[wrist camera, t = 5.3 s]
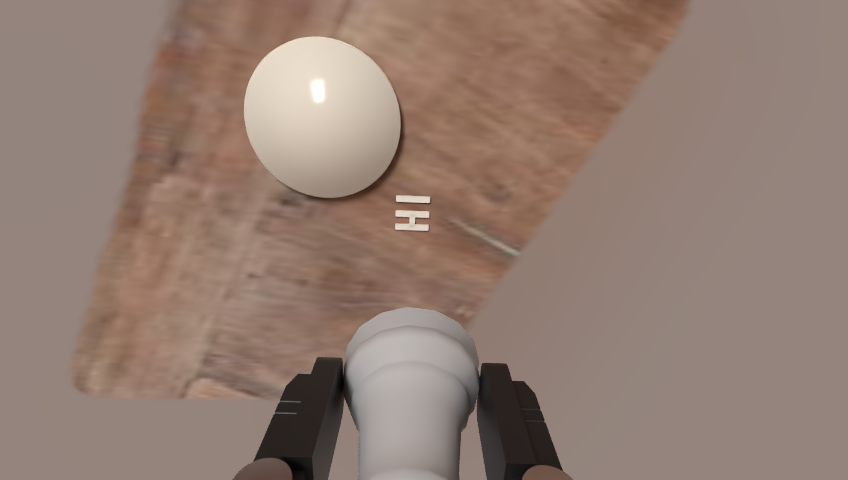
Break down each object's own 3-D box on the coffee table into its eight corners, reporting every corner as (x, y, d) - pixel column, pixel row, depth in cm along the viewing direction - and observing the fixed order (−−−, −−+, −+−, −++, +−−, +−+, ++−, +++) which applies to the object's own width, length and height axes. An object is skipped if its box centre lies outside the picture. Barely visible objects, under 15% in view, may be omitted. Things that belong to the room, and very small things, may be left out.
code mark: (428, 230, 30) (428, 230, 30) (395, 229, 30) (395, 229, 30) (430, 196, 29) (430, 197, 29) (396, 195, 29) (396, 195, 29)
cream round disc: (238, 33, 25) (234, 32, 24) (402, 42, 25) (402, 41, 25) (256, 192, 28) (252, 194, 28) (399, 198, 29) (398, 200, 28)
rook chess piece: (504, 352, 14) (598, 665, 7) (416, 425, 15) (412, 760, 8) (406, 273, 13) (387, 545, 5) (320, 359, 14) (207, 678, 7)
